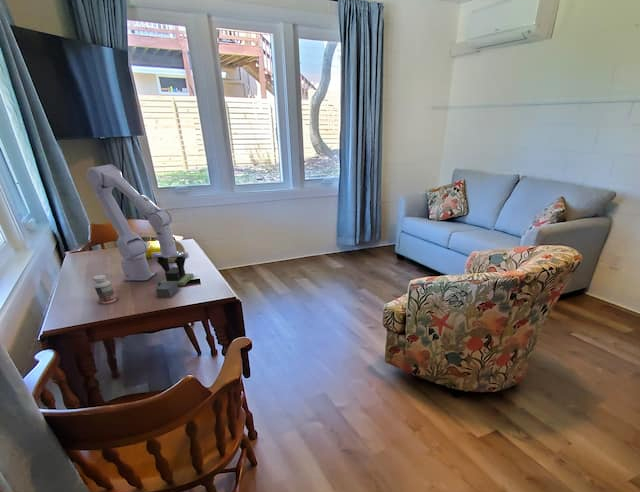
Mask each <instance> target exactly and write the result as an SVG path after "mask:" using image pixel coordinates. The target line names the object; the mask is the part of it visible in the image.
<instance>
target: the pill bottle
mask: <svg viewBox="0 0 640 492" xmlns="http://www.w3.org/2000/svg"><path fill="white" fill-rule="evenodd" d="M92 279H93V282H94V283H93V287H94V290H95V292H96V295H97V297H98V299H99V302H100V303H101V304H111V303H113V302H115V301H117V297H116V294H115V292H114V288H113V285H112V284H111V281H110V280H108V278H107V276H106V275H105V274H99V275H95V276H94V277H92Z"/></svg>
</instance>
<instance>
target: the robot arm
mask: <svg viewBox="0 0 640 492" xmlns="http://www.w3.org/2000/svg"><path fill="white" fill-rule="evenodd" d="M85 177H86V179H87V181H88V183H89V184H90V186H91V188H92V191H93V193H94V195H95V197H96V199H97V200H98V202H99V204H100V206H101V208H102V209H103V212H104V213H105V214H106V217H107V218H108V220H109V222H110V224H111V226H112V227H113V229H114V231H115V233H116V234H117V236H118V237H117V240H116V242H115V244H116V246H117V248H118V253H119V255H120V256H121V257H122V258H121V262H120V264H121V268H122V271H123V274H124V278H125V279H124V281H148V280H149V279H151V278H152V277H153V276H154V275H156V272H151V271H150V270H151V269H150V266H149V264H148V260H147V259H146V256H145V255H146V252H147V245H146V243H145V242H146V241H144V240H143V239H142V237H141V236H140V234H138V233H136V232H133V230H132V228H131V226H130V224H129V222H128V221H127V219H126V217H125V215H124V214H123V211H122V210H121V208H120V206H119V204H118V203H117V201H116V198H115V197H114V195H113V194H112V192H113V189H114V188H115V189H117V190H119V191H120V192H121V193H122V194H123V195H125V196H126V197H127V198H129V199H130V200H131V201H132V202H133V206H134V207H135V208H136V209H137V210H138V211H139V212H140V213H141V214H143V215H144V216H145V217H146V218H147V219H148V223H149V224H150V226H151V227H152V230H153V231H154V232H155V234H156V238H157V241H158V242H159V246H160V249H161V252H154V253H152V254H151V256H152V258H151V259H157V260H156V262H157V264H158V265H160V267H161V268H162V269H163V271H164V272H165V273H166V272H167V271H168V270H169V269H171V267H170V262H168V258H177V259H176V260H175V262H174V263H175V264H176V267H178V270H179V273H180V275H183V274H184V270H185V262H186V259H188V258H189V257H190V255H189V252H188V251H187V252H186V251H185V252H179V251H177V250H176V246H175V242H174V240H175V239H174V236H173V235H174V234H173V232H172V228H171V223H172V219H173V218H172V216H171V214H170V212H168V210H166V209H163V208H161V207H159V206H157V205H156V204H155V203H154V202H153V201H152V200H151V199H150V198H149V196H146V195H141V194H140V193H139V192H138V191H137V190H136V189H135V188H134V187H133V186H132V185H131V184H130V183H129V182H128V181H127V180H126V179H125V178H124V177H123V174H122V171H121V170H119V169H118V168H117V167H116V166H115V165H114V164H112V163H108V164H105V165H99V166H91V167H88V168H87V170H86V175H85Z"/></svg>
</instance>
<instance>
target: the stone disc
mask: <svg viewBox="0 0 640 492" xmlns="http://www.w3.org/2000/svg"><path fill="white" fill-rule="evenodd" d="M174 242H175V246H176V250H177V251H179V252H186V249H185V248H184V245H183V244H182V243H181V242H180V241H178V240H176V239H174ZM160 250H161V249H160ZM176 259H177V258H168V263H175V260H176Z"/></svg>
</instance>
